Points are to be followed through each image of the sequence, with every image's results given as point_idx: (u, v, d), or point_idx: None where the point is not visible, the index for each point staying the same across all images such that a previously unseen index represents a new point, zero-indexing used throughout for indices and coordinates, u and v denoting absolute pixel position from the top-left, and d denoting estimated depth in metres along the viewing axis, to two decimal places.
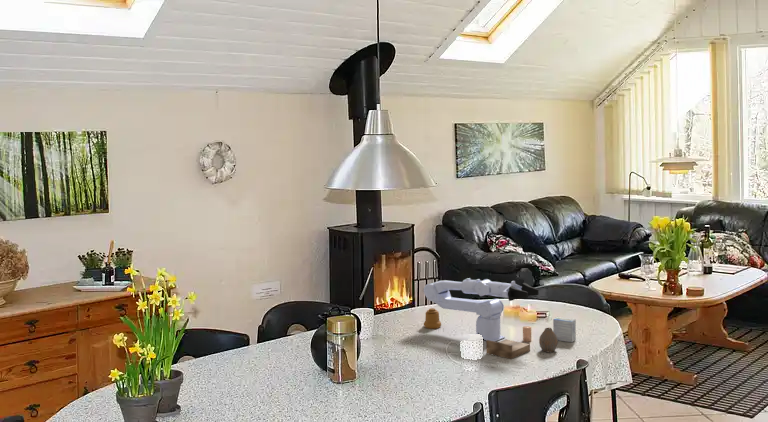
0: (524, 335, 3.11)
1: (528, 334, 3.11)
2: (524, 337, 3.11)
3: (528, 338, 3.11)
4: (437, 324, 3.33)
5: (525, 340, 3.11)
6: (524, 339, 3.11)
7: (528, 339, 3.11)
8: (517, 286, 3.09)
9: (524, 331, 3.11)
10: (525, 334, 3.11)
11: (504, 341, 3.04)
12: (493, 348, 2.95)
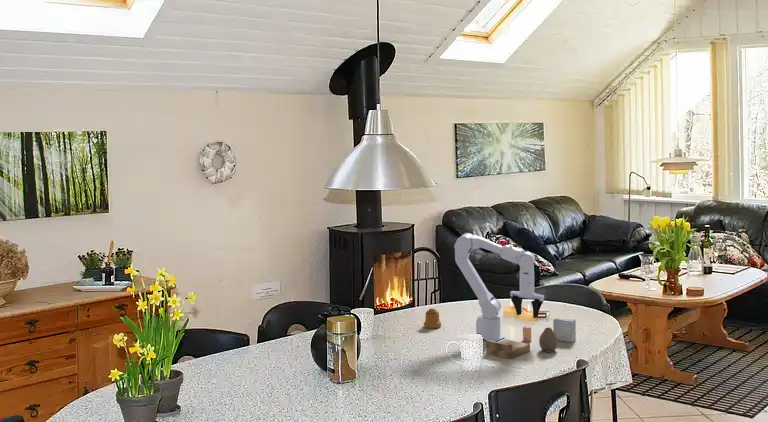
0: (524, 335, 3.11)
1: (528, 334, 3.11)
2: (524, 337, 3.11)
3: (528, 338, 3.11)
4: (437, 324, 3.33)
5: (525, 340, 3.11)
6: (524, 339, 3.11)
7: (528, 339, 3.11)
8: None
9: (524, 331, 3.11)
10: (525, 334, 3.11)
11: (504, 341, 3.04)
12: (493, 348, 2.95)
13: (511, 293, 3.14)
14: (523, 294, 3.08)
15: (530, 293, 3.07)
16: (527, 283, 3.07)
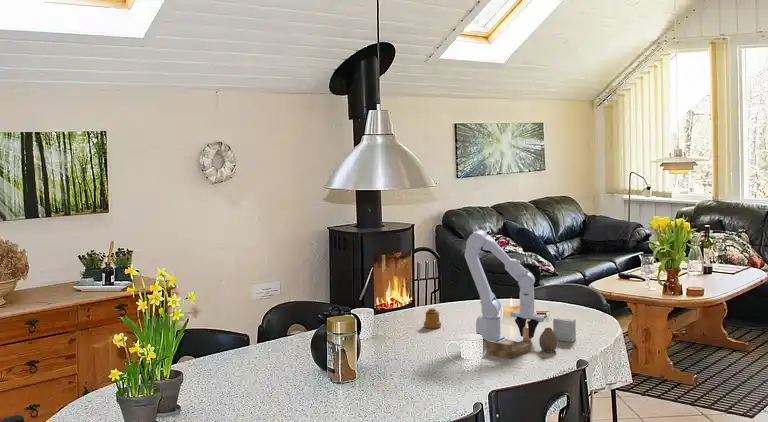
0: (524, 335, 3.11)
1: (528, 334, 3.11)
2: (524, 337, 3.11)
3: (528, 338, 3.11)
4: (437, 324, 3.33)
5: (525, 340, 3.11)
6: (524, 339, 3.11)
7: (528, 339, 3.11)
8: None
9: (524, 330, 3.11)
10: (525, 334, 3.11)
11: (504, 341, 3.04)
12: (493, 348, 2.95)
13: (511, 313, 3.15)
14: (523, 315, 3.09)
15: (530, 314, 3.08)
16: (527, 304, 3.08)
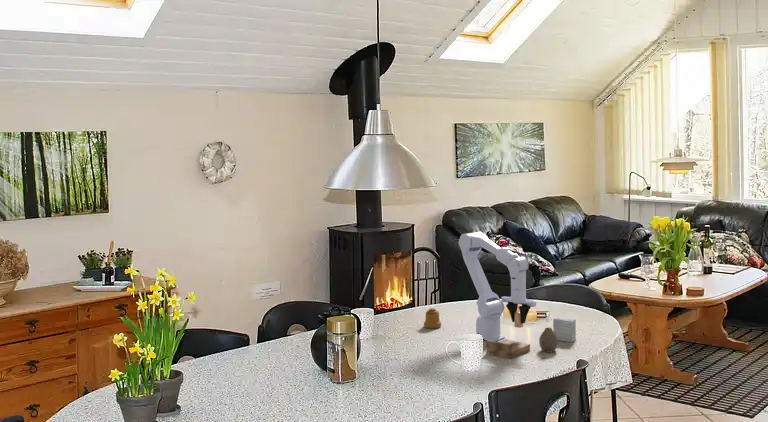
0: (516, 320, 3.04)
1: (520, 319, 3.03)
2: (516, 322, 3.04)
3: (520, 324, 3.03)
4: (437, 324, 3.33)
5: (517, 325, 3.04)
6: (516, 324, 3.04)
7: (520, 325, 3.03)
8: None
9: (516, 316, 3.04)
10: (517, 319, 3.03)
11: (504, 341, 3.04)
12: (493, 348, 2.95)
13: (502, 299, 3.08)
14: (514, 300, 3.01)
15: (522, 299, 3.01)
16: (514, 288, 3.01)
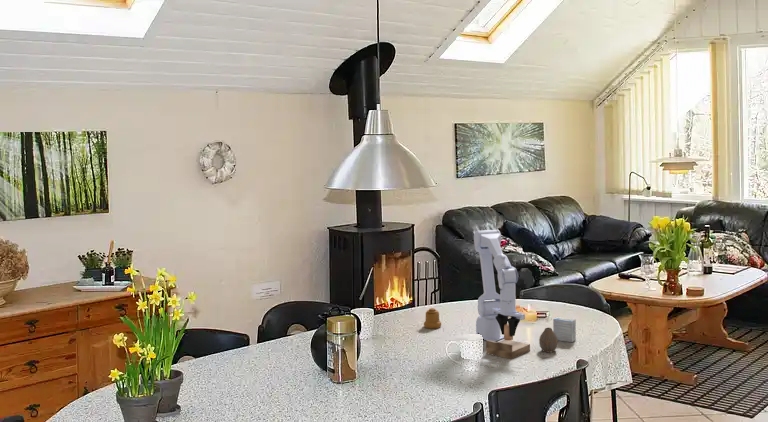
0: (505, 333, 2.97)
1: None
2: (505, 335, 2.97)
3: (509, 337, 2.96)
4: (437, 324, 3.33)
5: (506, 338, 2.97)
6: (505, 337, 2.97)
7: (509, 338, 2.96)
8: None
9: (505, 328, 2.96)
10: (506, 332, 2.96)
11: (504, 341, 3.04)
12: (493, 348, 2.95)
13: (492, 310, 3.01)
14: (503, 312, 2.94)
15: (510, 311, 2.94)
16: (501, 300, 2.95)
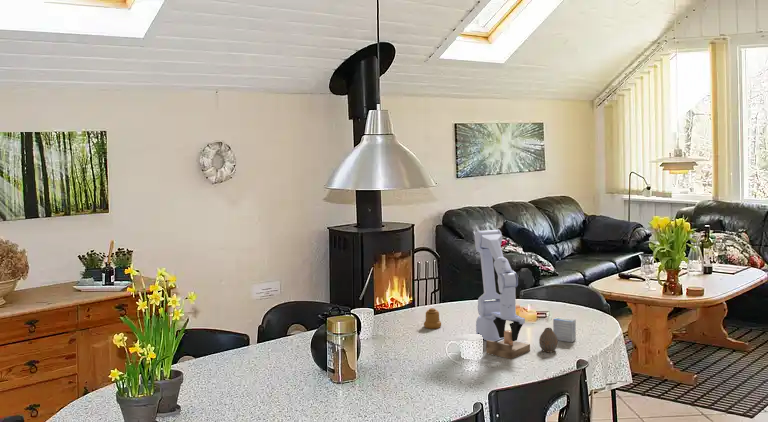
0: (505, 339, 2.97)
1: (509, 339, 2.96)
2: (505, 342, 2.97)
3: (509, 343, 2.96)
4: (437, 324, 3.33)
5: None
6: None
7: (509, 344, 2.97)
8: None
9: (505, 335, 2.97)
10: (506, 339, 2.96)
11: None
12: (493, 348, 2.95)
13: (492, 314, 3.01)
14: (503, 316, 2.95)
15: (510, 315, 2.94)
16: (501, 304, 2.95)
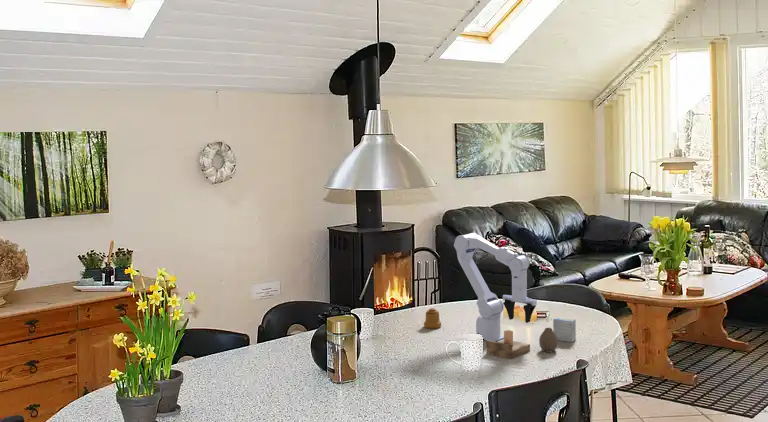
0: (505, 339, 2.97)
1: (509, 339, 2.96)
2: (505, 342, 2.97)
3: (509, 343, 2.96)
4: (437, 324, 3.33)
5: None
6: None
7: (509, 344, 2.97)
8: None
9: (505, 335, 2.97)
10: (506, 339, 2.96)
11: None
12: (493, 348, 2.95)
13: (503, 297, 3.10)
14: (515, 298, 3.04)
15: (522, 297, 3.03)
16: (516, 287, 3.03)
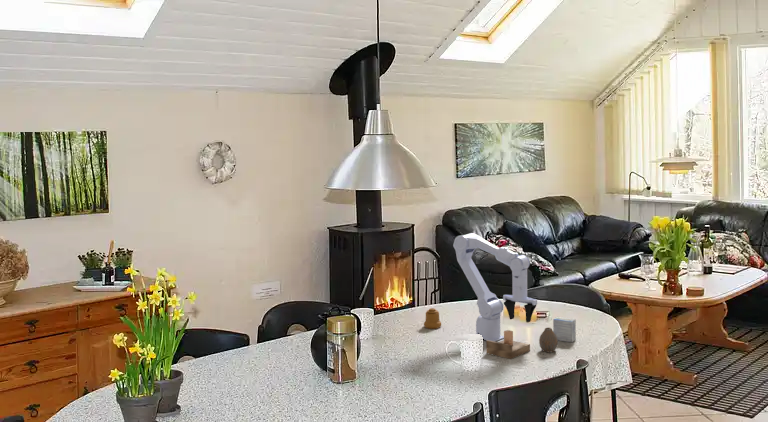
0: (505, 339, 2.97)
1: (509, 339, 2.96)
2: (505, 342, 2.97)
3: (509, 343, 2.96)
4: (437, 324, 3.33)
5: None
6: None
7: (509, 344, 2.97)
8: None
9: (505, 335, 2.97)
10: (506, 339, 2.96)
11: None
12: (493, 348, 2.95)
13: (504, 297, 3.10)
14: (516, 298, 3.04)
15: (523, 297, 3.04)
16: (517, 287, 3.04)
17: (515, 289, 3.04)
